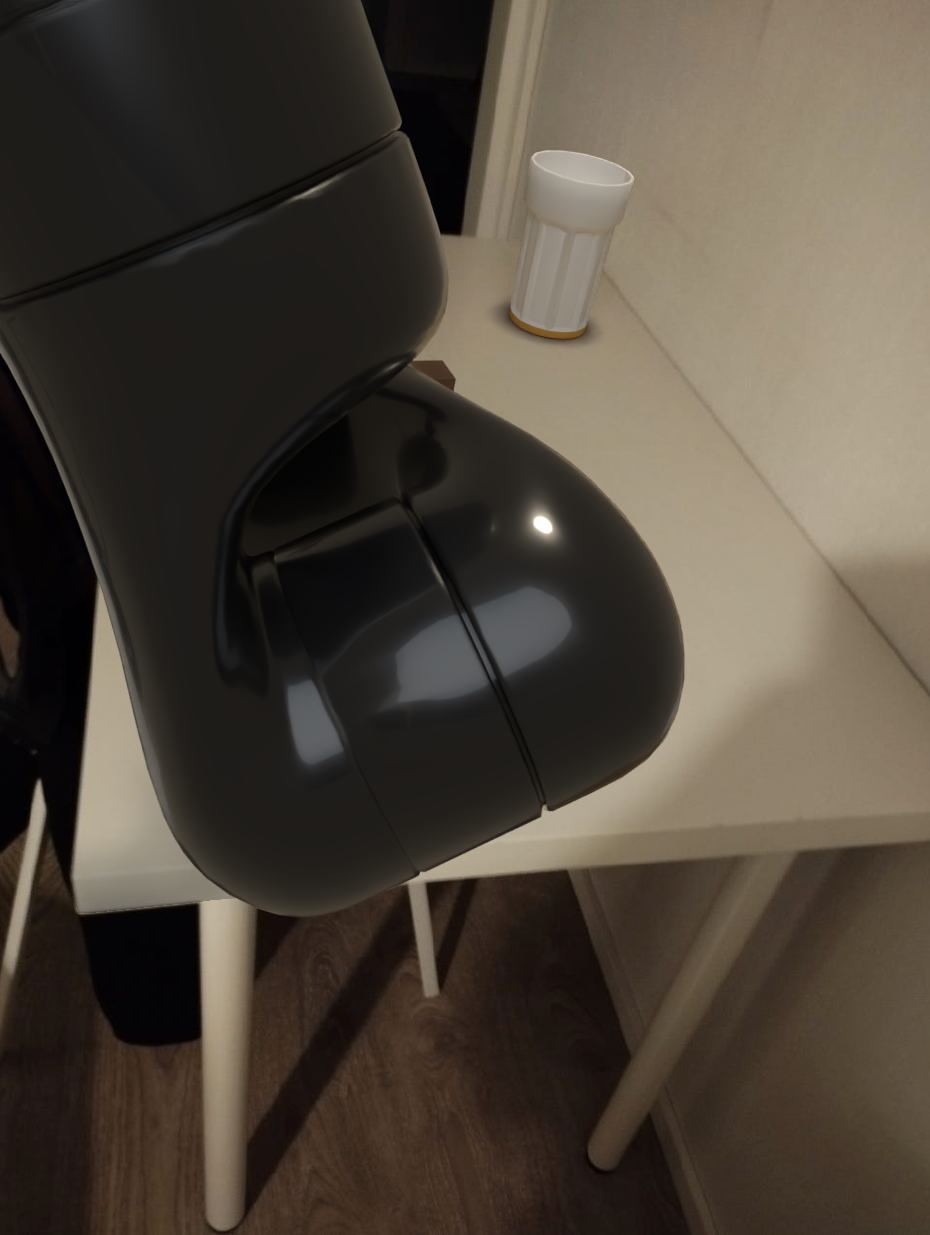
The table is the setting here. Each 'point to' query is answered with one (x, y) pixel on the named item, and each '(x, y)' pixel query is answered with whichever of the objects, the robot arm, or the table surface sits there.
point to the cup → (566, 239)
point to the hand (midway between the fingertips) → (168, 150)
